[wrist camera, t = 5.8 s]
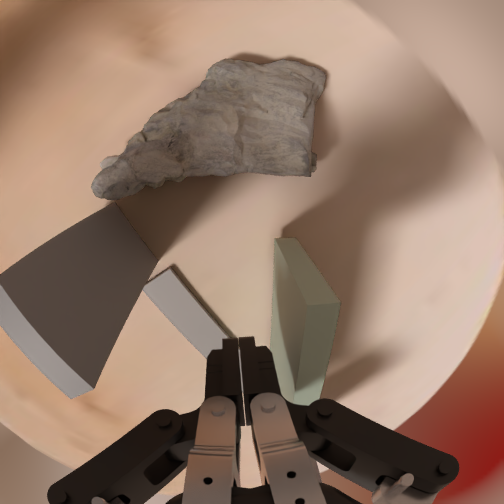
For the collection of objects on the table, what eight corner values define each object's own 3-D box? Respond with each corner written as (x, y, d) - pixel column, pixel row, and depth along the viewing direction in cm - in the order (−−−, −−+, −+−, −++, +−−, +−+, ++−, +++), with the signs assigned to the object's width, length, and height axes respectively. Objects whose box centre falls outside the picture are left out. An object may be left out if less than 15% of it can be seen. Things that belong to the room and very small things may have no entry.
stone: (109, 91, 12) (73, 80, 8) (320, 63, 12) (347, 40, 9) (122, 195, 15) (89, 213, 11) (330, 169, 15) (360, 179, 11)
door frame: (278, 429, 23) (295, 515, 14) (84, 230, 15) (-25, 316, 5) (308, 417, 23) (332, 504, 13) (119, 198, 14) (0, 270, 5)
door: (266, 401, 20) (278, 473, 14) (274, 238, 15) (307, 305, 9) (295, 398, 21) (313, 467, 14) (315, 237, 16) (371, 299, 9)
